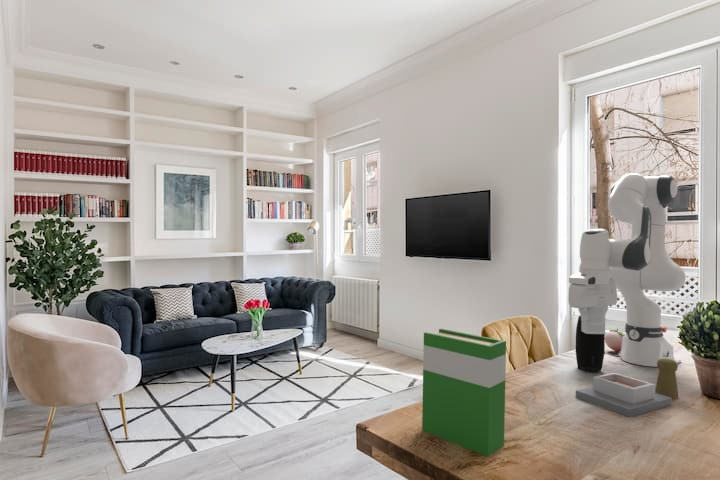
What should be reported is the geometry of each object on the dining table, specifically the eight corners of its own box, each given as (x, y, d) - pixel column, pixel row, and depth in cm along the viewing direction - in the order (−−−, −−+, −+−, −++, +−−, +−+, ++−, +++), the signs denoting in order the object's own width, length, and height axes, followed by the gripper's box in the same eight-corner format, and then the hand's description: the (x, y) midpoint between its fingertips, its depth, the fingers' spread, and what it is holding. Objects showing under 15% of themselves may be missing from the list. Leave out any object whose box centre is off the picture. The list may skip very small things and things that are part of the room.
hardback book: (422, 430, 108) (423, 332, 107) (439, 421, 113) (441, 328, 113) (488, 456, 95) (490, 346, 95) (504, 445, 101) (506, 341, 100)
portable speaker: (577, 364, 166) (578, 312, 165) (605, 369, 160) (607, 316, 160) (572, 370, 159) (574, 316, 158) (602, 375, 153) (603, 319, 153)
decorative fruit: (599, 350, 188) (599, 326, 187) (614, 349, 190) (614, 326, 190) (618, 356, 179) (618, 331, 178) (633, 354, 181) (634, 330, 181)
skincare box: (599, 331, 146) (600, 295, 146) (605, 334, 142) (606, 297, 142) (580, 331, 147) (581, 295, 147) (585, 333, 143) (586, 297, 142)
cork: (682, 399, 131) (683, 363, 131) (660, 398, 132) (660, 361, 132) (672, 392, 137) (673, 357, 137) (651, 391, 138) (651, 356, 138)
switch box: (617, 387, 141) (617, 368, 141) (671, 404, 127) (671, 384, 127) (575, 396, 132) (576, 377, 132) (629, 416, 118) (629, 394, 118)
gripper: (605, 276, 152) (604, 316, 152) (565, 278, 142) (564, 320, 143) (623, 278, 146) (622, 319, 146) (582, 280, 137) (581, 324, 137)
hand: (593, 320), depth 144 cm, fingers closed on skincare box, 7 cm apart
